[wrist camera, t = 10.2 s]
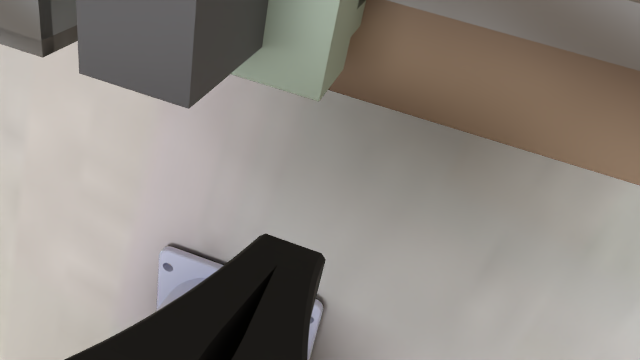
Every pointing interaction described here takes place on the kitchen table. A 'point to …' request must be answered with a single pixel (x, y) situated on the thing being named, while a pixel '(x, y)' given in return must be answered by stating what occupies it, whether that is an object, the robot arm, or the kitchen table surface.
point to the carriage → (215, 44)
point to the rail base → (469, 69)
